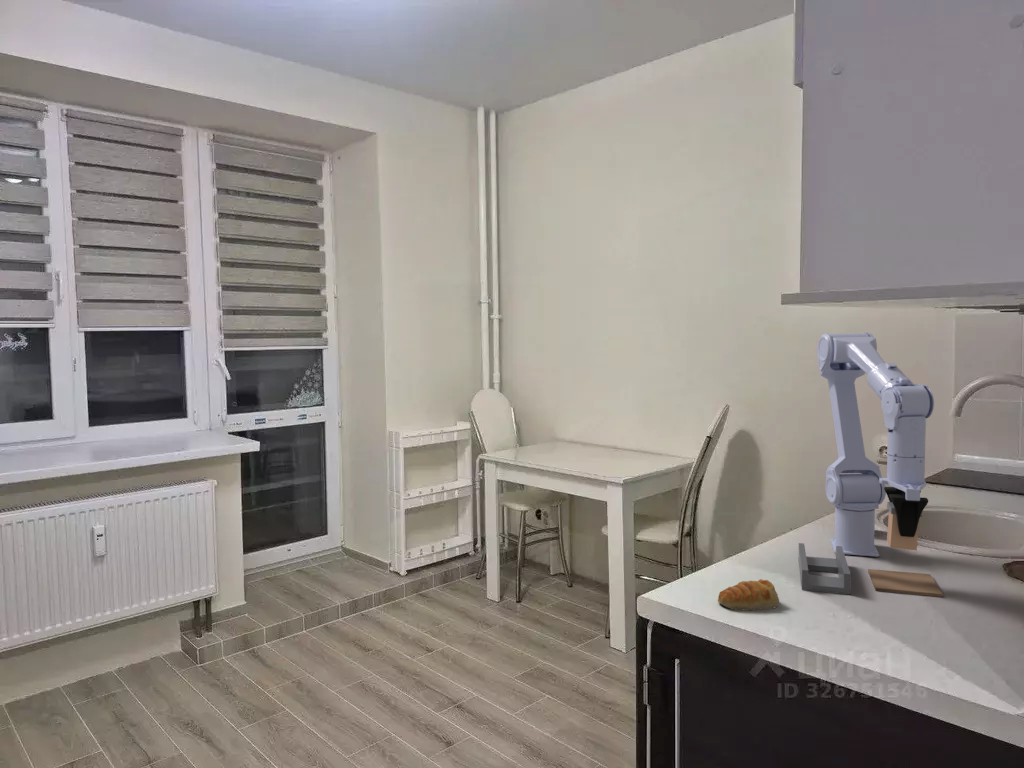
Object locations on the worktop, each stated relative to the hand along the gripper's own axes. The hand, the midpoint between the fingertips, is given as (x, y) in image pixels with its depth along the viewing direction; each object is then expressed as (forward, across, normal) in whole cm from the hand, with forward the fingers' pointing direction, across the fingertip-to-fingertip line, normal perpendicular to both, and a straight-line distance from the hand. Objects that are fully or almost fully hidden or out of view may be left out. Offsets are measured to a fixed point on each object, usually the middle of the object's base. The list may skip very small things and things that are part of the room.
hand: (904, 532), depth 123 cm
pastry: (+10, +17, -25) cm, 32 cm away
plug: (+2, 0, 0) cm, 2 cm away
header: (+9, 0, -13) cm, 16 cm away
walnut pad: (+9, 0, 0) cm, 9 cm away
